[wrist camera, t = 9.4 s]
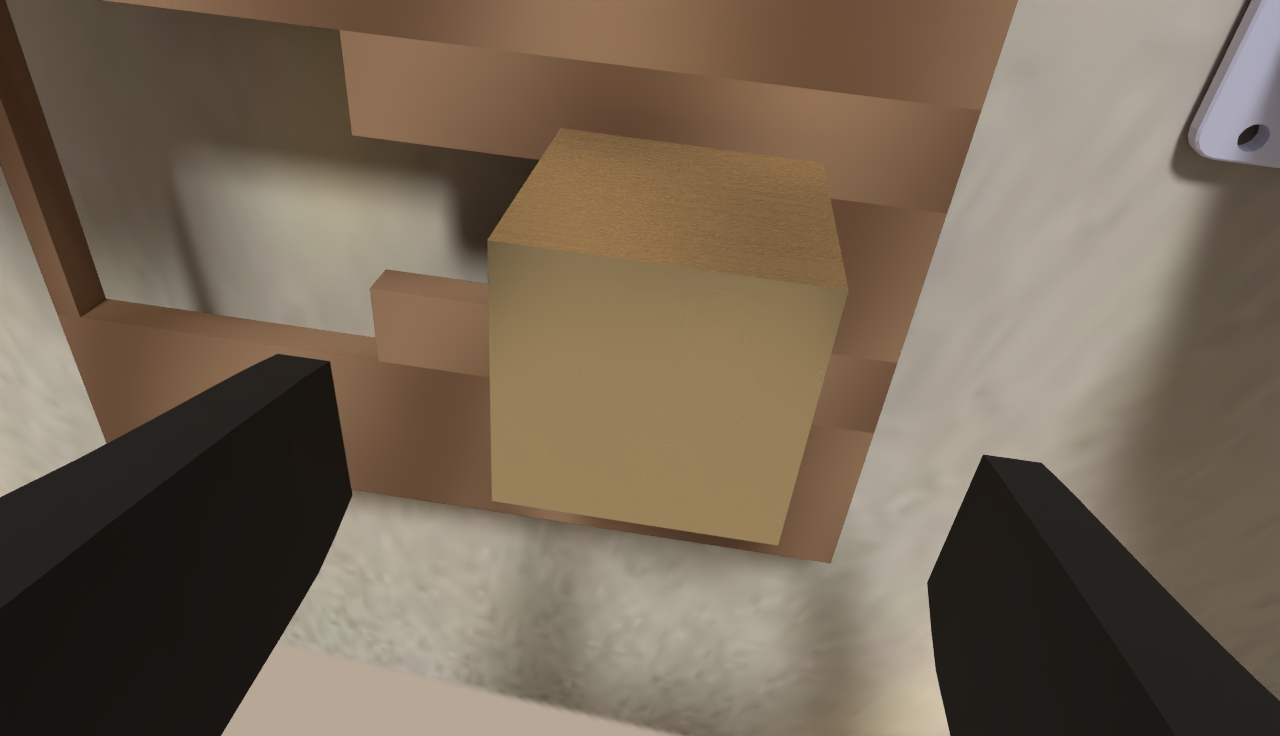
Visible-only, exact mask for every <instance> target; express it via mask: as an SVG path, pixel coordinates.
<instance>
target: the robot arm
mask: <svg viewBox="0 0 1280 736" xmlns="http://www.w3.org/2000/svg"><path fill="white" fill-rule="evenodd" d="M1256 124H1258V125H1259V129H1258V133H1257V134H1256V135H1255V137H1254V138H1253V139H1252V140H1251V141H1249V142H1247V143H1245V144H1242V145H1237V142H1238V137H1239V135H1240V134H1241V133H1242V132H1243V131H1244V129H1246V128H1248V127H1250V126H1252V125H1256ZM1188 140H1189V145H1190V146H1191V147H1192V148H1193V149H1194V150H1195V151H1196V152H1197V153H1198V154H1200V155H1201V156H1202V157H1205V158H1208V159H1211V160H1218V161H1226V162H1234V163H1242V164H1250V165H1258V166H1265V167H1273V168H1280V0H1251V3H1250V5H1249V7H1248V9H1247V11H1246V13H1245V15H1244V17H1243V19H1242V21H1241V23H1240V25H1239V27H1238V29H1237V31H1236V33H1235V35H1234V37H1233V39H1232V41H1231V44H1230V46H1229V48H1228V50H1227V52H1226V54H1225V56H1224V58H1223V60H1222V62H1221V64H1220V66H1219V68H1218V70H1217V72H1216V74H1215V76H1214V78H1213V80H1212V83H1211V85H1210V87H1209V89H1208V91H1207V93H1206V95H1205V97H1204V99H1203V101H1202V103H1201V105H1200V107H1199V109H1198V111H1197V113H1196V115H1195V117H1194V119H1193V122H1192V124H1191V126H1190V129H1189V133H1188ZM351 497H352V490H351V484H350V478H349V472H348V466H347V460H346V454H345V448H344V442H343V436H342V430H341V424H340V418H339V412H338V406H337V400H336V394H335V388H334V382H333V376H332V370H331V364H330V361H325V360H318V359H311V358H304V357H297V356H291V355H284V354H276V355H274V356H272V357H269V358H267V359H265V360H263V361H261V362H259V363H257V364H255V365H253V366H251V367H249V368H247V369H245V370H243V371H241V372H239V373H237V374H235V375H233V376H231V377H229V378H228V379H226V380H224V381H222V382H220V383H218V384H216V385H214V386H213V387H211V388H209V389H207V390H205V391H203V392H202V393H200V394H198V395H196V396H194V397H192V398H191V399H189V400H187V401H185V402H183V403H181V404H180V405H178V406H176V407H174V408H172V409H170V410H169V411H167V412H165V413H163V414H161V415H159V416H157V417H156V418H154V419H152V420H150V421H148V422H146V423H144V424H143V425H141V426H139V427H137V428H135V429H133V430H131V431H130V432H128V433H126V434H124V435H122V436H120V437H118V438H116V439H115V440H113V441H111V442H109V443H107V444H105V445H103V446H102V447H100V448H98V449H96V450H94V451H92V452H90V453H88V454H87V455H85V456H83V457H81V458H79V459H77V460H75V461H73V462H71V463H69V464H67V465H65V466H63V467H61V468H59V469H57V470H55V471H53V472H51V473H49V474H47V475H45V476H43V477H41V478H39V479H37V480H34V481H32V482H30V483H28V484H26V485H24V486H22V487H20V488H18V489H16V490H14V491H12V492H10V493H8V494H6V495H4V496H2V497H0V736H221V735H222V733H223V731H224V729H225V728H226V726H227V725H228V723H229V721H230V720H231V718H232V716H233V715H234V713H235V711H236V710H237V708H238V706H239V705H240V703H241V702H242V700H243V698H244V696H245V695H246V693H247V691H248V690H249V688H250V687H251V685H252V683H253V682H254V680H255V679H256V677H257V675H258V674H259V672H260V670H261V669H262V667H263V665H264V664H265V662H266V660H267V659H268V657H269V655H270V654H271V652H272V650H273V649H274V647H275V646H276V644H277V642H278V641H279V639H280V637H281V636H282V634H283V632H284V631H285V629H286V627H287V626H288V624H289V622H290V621H291V619H292V617H293V616H294V614H295V612H296V611H297V609H298V607H299V606H300V604H301V602H302V601H303V599H304V597H305V595H306V594H307V592H308V590H309V589H310V587H311V585H312V583H313V582H314V580H315V578H316V577H317V575H318V573H319V571H320V569H321V567H322V564H323V562H324V560H325V558H326V556H327V553H328V551H329V549H330V547H331V545H332V542H333V540H334V538H335V536H336V533H337V531H338V528H339V526H340V524H341V521H342V519H343V516H344V514H345V512H346V509H347V507H348V505H349V502H350V500H351ZM927 584H928V596H929V608H930V619H931V631H932V640H933V648H934V657H935V666H936V673H937V677H938V682H939V686H940V691H941V696H942V700H943V704H944V709H945V713H946V718H947V722H948V726H949V731H950V735H951V736H1280V701H1279V700H1278V699H1277V698H1276V697H1275V696H1274V695H1273V694H1271V693H1270V692H1269V691H1268V690H1267V689H1266V688H1265V687H1264V686H1263V685H1262V684H1261V683H1260V682H1259V681H1257V680H1256V679H1255V678H1254V677H1253V676H1252V675H1251V674H1250V673H1249V672H1248V671H1247V670H1246V669H1245V668H1244V667H1243V666H1242V665H1241V664H1240V663H1239V662H1238V661H1237V660H1236V659H1235V658H1234V657H1233V656H1232V655H1231V654H1229V653H1228V652H1227V651H1226V650H1225V649H1224V648H1223V647H1222V646H1221V645H1220V644H1219V643H1218V642H1217V641H1216V640H1215V639H1214V638H1213V637H1212V636H1211V635H1210V634H1209V633H1208V632H1207V631H1206V630H1205V629H1204V628H1203V627H1202V626H1201V625H1200V624H1199V623H1198V622H1197V621H1196V620H1195V619H1194V618H1193V617H1192V616H1191V615H1190V614H1189V613H1188V612H1187V611H1186V610H1185V609H1184V608H1183V607H1182V606H1181V605H1180V604H1179V603H1178V602H1177V601H1176V600H1175V599H1174V598H1173V597H1172V596H1171V595H1170V594H1169V593H1168V592H1167V591H1166V590H1165V589H1164V588H1163V587H1162V585H1161V584H1160V583H1159V582H1158V581H1157V580H1156V579H1155V578H1154V577H1153V576H1152V575H1151V574H1150V573H1149V572H1148V571H1147V570H1146V569H1145V568H1144V567H1143V566H1142V565H1141V564H1140V563H1139V562H1138V561H1137V560H1136V559H1135V558H1134V557H1133V555H1132V554H1131V553H1130V552H1129V551H1128V550H1127V549H1126V548H1125V547H1124V546H1123V545H1122V544H1121V543H1120V542H1119V541H1118V540H1117V539H1116V538H1115V537H1114V536H1113V535H1112V534H1111V533H1110V532H1109V530H1108V529H1107V528H1106V527H1105V526H1104V525H1103V524H1102V523H1101V522H1100V521H1099V520H1098V519H1097V518H1096V517H1095V516H1094V515H1093V514H1092V513H1091V512H1090V511H1089V510H1088V509H1087V508H1086V507H1085V506H1084V504H1083V503H1082V502H1081V501H1080V500H1079V499H1078V498H1077V497H1076V496H1075V495H1074V494H1073V493H1072V492H1071V491H1070V490H1069V489H1068V488H1067V487H1066V486H1065V485H1064V484H1063V483H1062V482H1061V481H1060V480H1059V479H1058V478H1057V477H1056V476H1055V475H1054V474H1053V473H1052V472H1051V471H1049V470H1048V469H1047V468H1046V467H1045V466H1044V465H1043V464H1042V463H1038V462H1031V461H1024V460H1017V459H1010V458H1003V457H996V456H989V455H983V456H982V458H981V461H980V463H979V465H978V468H977V470H976V472H975V475H974V477H973V479H972V481H971V484H970V486H969V488H968V491H967V493H966V495H965V497H964V500H963V502H962V504H961V507H960V509H959V511H958V513H957V516H956V518H955V520H954V523H953V525H952V527H951V530H950V532H949V534H948V536H947V539H946V541H945V543H944V546H943V548H942V550H941V552H940V555H939V557H938V559H937V562H936V564H935V566H934V568H933V571H932V573H931V575H930V578H929V580H928V582H927Z"/></svg>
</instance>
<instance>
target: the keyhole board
mask: <svg viewBox="0 0 1280 736" xmlns="http://www.w3.org/2000/svg"><path fill="white" fill-rule="evenodd" d="M104 1H112V2H120V3H128V4H136V5H144V6H152V7H160V8H168V9H176V10H184V11H192V12H200V13H207V14H215V15H223V16H231V17H239V18H247V19H255V20H263V21H271V22H279V23H287V24H295V25H303V26H311V27H319V28H327V29H335V30H340V39H341V47H342V56H343V64H344V73H345V81H346V89H347V98H348V106H349V115H350V123H351V132H352V135H354V136H361V137H369V138H377V139H384V140H392V141H399V142H407V143H415V144H422V145H430V146H437V147H445V148H452V149H460V150H468V151H475V152H483V153H490V154H498V155H506V156H513V157H521V158H528V159H536V160H540V159H541V157H542V156H543V154H544V153H545V151H546V149H547V148H548V146H549V145H550V143H551V142H552V140H553V139H554V137H555V136H556V134H557V133H558V131H559V130H560V128H564V129H571V130H579V131H586V132H594V133H601V134H609V135H616V136H624V137H631V138H639V139H646V140H654V141H661V142H669V143H676V144H684V145H691V146H699V147H707V148H714V149H722V150H729V151H737V152H744V153H752V154H759V155H767V156H774V157H782V158H789V159H797V160H804V161H812V162H819V163H823V164H824V169H825V174H826V179H827V184H828V189H829V194H830V199H831V204H832V209H833V214H834V219H835V224H836V229H837V234H838V240H839V245H840V250H841V255H842V260H843V265H844V270H845V275H846V280H847V285H848V290H849V291H848V295H847V298H846V302H845V305H844V309H843V313H842V316H841V320H840V323H839V327H838V331H837V334H836V338H835V342H834V345H833V349H832V352H831V356H830V360H829V363H828V367H827V370H826V374H825V378H824V381H823V385H822V389H821V392H820V396H819V399H818V403H817V407H816V410H815V414H814V417H813V421H812V425H811V428H810V432H809V436H808V439H807V443H806V446H805V450H804V454H803V457H802V461H801V464H800V468H799V472H798V475H797V479H796V483H795V486H794V490H793V493H792V497H791V501H790V504H789V508H788V511H787V515H786V519H785V522H784V526H783V530H782V533H781V537H780V540H779V544H778V545H771V544H765V543H759V542H752V541H746V540H739V539H733V538H726V537H720V536H714V535H707V534H701V533H694V532H688V531H681V530H675V529H669V528H662V527H656V526H649V525H643V524H637V523H630V522H624V521H617V520H611V519H604V518H598V517H592V516H585V515H579V514H572V513H566V512H560V511H553V510H547V509H540V508H534V507H527V506H521V505H515V504H508V503H502V502H495V501H492V476H491V418H490V361H489V304H488V284H486V283H479V282H472V281H464V280H457V279H450V278H443V277H436V276H429V275H422V274H414V273H407V272H400V271H393V270H385V271H384V272H383V274H382V275H381V276H380V277H379V278H378V280H377V281H376V282H375V283H374V284H373V286H372V287H371V288H370V292H371V301H372V309H373V317H374V326H375V334H376V338H373V337H366V336H360V335H353V334H346V333H339V332H332V331H325V330H318V329H311V328H304V327H297V326H290V325H283V324H276V323H270V322H263V321H256V320H249V319H242V318H235V317H228V316H221V315H214V314H207V313H200V312H193V311H186V310H180V309H173V308H166V307H159V306H152V305H145V304H138V303H131V302H124V301H117V300H110V299H106V298H105V295H104V292H103V289H102V286H101V283H100V280H99V277H98V274H97V271H96V268H95V265H94V262H93V259H92V256H91V253H90V250H89V247H88V244H87V241H86V238H85V235H84V232H83V229H82V226H81V223H80V221H79V218H78V215H77V212H76V209H75V206H74V203H73V200H72V197H71V194H70V191H69V188H68V185H67V182H66V179H65V176H64V173H63V170H62V167H61V164H60V161H59V158H58V155H57V152H56V149H55V146H54V143H53V140H52V137H51V135H50V132H49V129H48V126H47V123H46V120H45V117H44V114H43V111H42V108H41V105H40V102H39V99H38V96H37V93H36V90H35V87H34V84H33V81H32V78H31V75H30V72H29V69H28V66H27V63H26V60H25V57H24V54H23V51H22V49H21V46H20V43H19V40H18V37H17V34H16V31H15V28H14V25H13V22H12V19H11V16H10V13H9V10H8V7H7V4H6V1H5V0H0V165H1V168H2V171H3V173H4V176H5V179H6V181H7V184H8V186H9V189H10V192H11V194H12V197H13V199H14V202H15V205H16V207H17V210H18V213H19V215H20V218H21V220H22V223H23V226H24V228H25V231H26V233H27V236H28V239H29V241H30V244H31V247H32V249H33V252H34V254H35V257H36V260H37V262H38V265H39V268H40V270H41V273H42V275H43V278H44V281H45V283H46V286H47V288H48V291H49V294H50V296H51V299H52V302H53V304H54V307H55V309H56V312H57V315H58V317H59V320H60V322H61V325H62V328H63V330H64V333H65V336H66V338H67V341H68V343H69V346H70V349H71V351H72V354H73V356H74V359H75V362H76V364H77V367H78V370H79V372H80V375H81V377H82V380H83V383H84V385H85V388H86V391H87V393H88V396H89V398H90V401H91V404H92V406H93V409H94V411H95V414H96V417H97V419H98V422H99V425H100V427H101V430H102V432H103V435H104V438H105V440H106V443H109V442H111V441H113V440H115V439H116V438H118V437H120V436H122V435H124V434H126V433H128V432H130V431H131V430H133V429H135V428H137V427H139V426H141V425H143V424H144V423H146V422H148V421H150V420H152V419H154V418H156V417H157V416H159V415H161V414H163V413H165V412H167V411H169V410H170V409H172V408H174V407H176V406H178V405H180V404H181V403H183V402H185V401H187V400H189V399H191V398H192V397H194V396H196V395H198V394H200V393H202V392H203V391H205V390H207V389H209V388H211V387H213V386H214V385H216V384H218V383H220V382H222V381H224V380H226V379H228V378H229V377H231V376H233V375H235V374H237V373H239V372H241V371H243V370H245V369H247V368H249V367H251V366H253V365H255V364H257V363H259V362H261V361H263V360H265V359H267V358H269V357H272V356H274V355H276V354H284V355H291V356H297V357H304V358H311V359H318V360H325V361H330V364H331V370H332V376H333V382H334V388H335V394H336V400H337V406H338V412H339V418H340V424H341V430H342V436H343V442H344V448H345V454H346V460H347V466H348V472H349V478H350V484H351V489H353V490H360V491H366V492H373V493H379V494H386V495H392V496H399V497H405V498H411V499H418V500H424V501H431V502H437V503H444V504H450V505H457V506H463V507H470V508H476V509H483V510H489V511H496V512H502V513H509V514H515V515H522V516H528V517H535V518H541V519H548V520H554V521H561V522H567V523H574V524H580V525H586V526H593V527H599V528H606V529H612V530H619V531H625V532H632V533H638V534H645V535H651V536H658V537H664V538H671V539H677V540H684V541H690V542H697V543H703V544H710V545H716V546H723V547H729V548H736V549H742V550H749V551H755V552H761V553H768V554H774V555H781V556H787V557H794V558H800V559H807V560H813V561H820V562H826V563H831V560H832V557H833V554H834V551H835V548H836V545H837V542H838V539H839V536H840V533H841V530H842V527H843V524H844V521H845V518H846V515H847V512H848V509H849V506H850V503H851V500H852V497H853V494H854V491H855V488H856V485H857V482H858V479H859V476H860V473H861V470H862V467H863V464H864V461H865V458H866V455H867V452H868V449H869V446H870V443H871V440H872V437H873V434H874V431H875V428H876V425H877V422H878V419H879V416H880V413H881V410H882V407H883V404H884V401H885V398H886V395H887V392H888V389H889V386H890V383H891V380H892V377H893V374H894V371H895V368H896V365H897V362H898V359H899V356H900V353H901V350H902V347H903V344H904V341H905V338H906V335H907V332H908V329H909V326H910V323H911V320H912V317H913V314H914V311H915V308H916V305H917V302H918V299H919V296H920V293H921V290H922V287H923V284H924V281H925V278H926V275H927V272H928V269H929V266H930V263H931V260H932V257H933V254H934V251H935V248H936V245H937V242H938V239H939V236H940V233H941V230H942V227H943V224H944V221H945V218H946V215H947V212H948V209H949V206H950V203H951V200H952V197H953V194H954V191H955V188H956V185H957V182H958V179H959V176H960V173H961V170H962V167H963V164H964V161H965V158H966V155H967V152H968V149H969V146H970V143H971V140H972V137H973V134H974V131H975V128H976V125H977V122H978V119H979V116H980V113H981V110H982V107H983V104H984V101H985V98H986V95H987V92H988V89H989V86H990V83H991V80H992V77H993V74H994V71H995V68H996V65H997V62H998V59H999V56H1000V53H1001V50H1002V47H1003V44H1004V41H1005V38H1006V35H1007V32H1008V29H1009V26H1010V23H1011V20H1012V17H1013V14H1014V11H1015V8H1016V5H1017V2H1018V0H104Z"/></svg>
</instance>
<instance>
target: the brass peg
mask: <svg viewBox="0 0 1280 736" xmlns="http://www.w3.org/2000/svg"><path fill="white" fill-rule="evenodd" d="M487 247H488V304H489V361H490V418H491V476H492V501H495V502H502V503H508V504H515V505H521V506H527V507H534V508H540V509H547V510H553V511H560V512H566V513H572V514H579V515H585V516H592V517H598V518H604V519H611V520H617V521H624V522H630V523H637V524H643V525H649V526H656V527H662V528H669V529H675V530H681V531H688V532H694V533H701V534H707V535H714V536H720V537H726V538H733V539H739V540H746V541H752V542H759V543H765V544H771V545H778V544H779V540H780V537H781V533H782V530H783V526H784V522H785V519H786V515H787V511H788V508H789V504H790V501H791V497H792V493H793V490H794V486H795V483H796V479H797V475H798V472H799V468H800V464H801V461H802V457H803V454H804V450H805V446H806V443H807V439H808V436H809V432H810V428H811V425H812V421H813V417H814V414H815V410H816V407H817V403H818V399H819V396H820V392H821V389H822V385H823V381H824V378H825V374H826V370H827V367H828V363H829V360H830V356H831V352H832V349H833V345H834V342H835V338H836V334H837V331H838V327H839V323H840V320H841V316H842V313H843V309H844V305H845V302H846V298H847V295H848V291H849V290H848V285H847V280H846V275H845V270H844V265H843V260H842V255H841V250H840V245H839V240H838V234H837V229H836V224H835V219H834V214H833V209H832V204H831V199H830V194H829V189H828V184H827V179H826V174H825V169H824V164H823V163H819V162H812V161H804V160H797V159H789V158H782V157H774V156H767V155H759V154H752V153H744V152H737V151H729V150H722V149H714V148H707V147H699V146H691V145H684V144H676V143H669V142H661V141H654V140H646V139H639V138H631V137H624V136H616V135H609V134H601V133H594V132H586V131H579V130H571V129H564V128H560V130H559V131H558V133H557V134H556V136H555V137H554V139H553V140H552V142H551V143H550V145H549V146H548V148H547V149H546V151H545V153H544V154H543V156H542V157H541V159H540V160H539V162H538V163H537V165H536V166H535V168H534V169H533V171H532V172H531V174H530V176H529V177H528V179H527V180H526V182H525V183H524V185H523V186H522V188H521V189H520V191H519V192H518V194H517V195H516V197H515V198H514V200H513V202H512V203H511V205H510V206H509V208H508V209H507V211H506V212H505V214H504V215H503V217H502V218H501V220H500V221H499V223H498V224H497V226H496V228H495V229H494V231H493V232H492V234H491V235H490V237H489V238H488V240H487Z"/></svg>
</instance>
